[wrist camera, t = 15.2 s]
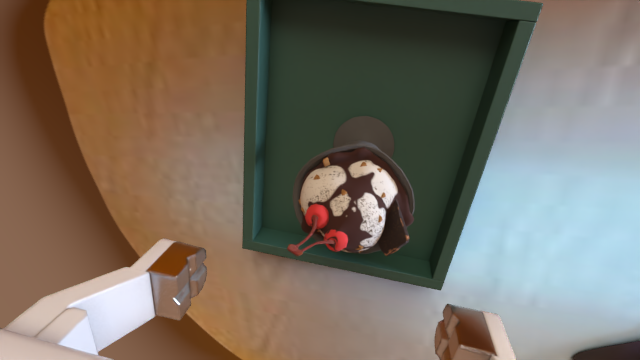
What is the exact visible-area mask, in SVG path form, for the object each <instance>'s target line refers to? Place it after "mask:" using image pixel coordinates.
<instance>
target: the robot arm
mask: <svg viewBox="0 0 640 360" xmlns="http://www.w3.org/2000/svg"><path fill="white" fill-rule="evenodd" d="M205 259H206V250H205V249H204V248H201V247H197V246H193V245H189V244H185V243H181V242H176V241H172V240H168V239H165V238H164V239H161V240H159V241H158V242H157V243H156V244H155V245H154V246H152V247H151V248H150V249H149V250H148V251H147V252H146V253H145V254H144V255H143V256H142V257H141V258H140V259H139V260H138V261H137V262H135V263H134V264H133V265H132V266H131V267H130V268H128V267H124V268H121V269H119V270H116V271H113V272H111V273H108V274H105V275H102V276H100V277H97V278H94V279H91V280H89V281H86V282H83V283H81V284H78V285H75V286H72V287H70V288H67V289H65V290H62V291H59V292H56V293H53V294H51V295H48V296H45V297H43V298H42V299H40V300H39V301H38V302H36V303H35V304H34V305H33V306H31V307H30V308H29V309H27V310H26V311H25V312H24V313H22V314H21V315H20V316H19V317H17V318H16V319H15V320H14V321H12V322H11V323H10V324H9V325H7V326H6V327H5V328H3V329H1V328H0V360H113V359H109V358H106V357H102V356H99V355H98V351H100V350H101V349H103V348H105V347H106V346H108V345H110V344H111V343H113V342H115V341H116V340H118V339H120V338H121V337H123V336H124V335H125V334H128V333H129V332H131V331H133V330H134V329H136V328H137V327H139V326H141V325H142V324H144V323H145V322H147V321H149V320H150V319H152V318H154V317H155V315H157V316H162V317H166V318H171V319H175V320H181V318H182V317H183V316H184V314H185V313H186V311H187V310H188V308H189V307H190V306H191V298H193V297H195V296H197V295H198V294H199V293H200V291H201V290H202V288H203V286H204V283H205V281H206V276H207V267H206V266H205V265H204V263H203V261H204V260H205ZM443 317H444V319H443V320H442V321H440V322H439V323H438V325H437V328H436V332H435V352H436V354H437V356H438V357H439V358H440V360H517V359H516V357H515V354H514V352H513V349H512V346H511V344H510V341H509V339H508V336H507V334H506V331H505V328H504V326H503V323H502V321H501V318H500V316H499V315H498V314H494V313H489V312H485V311H479V310H474V309H470V308H465V307H461V306H456V305H452V304H447V305H446V306H445V308H444V310H443Z"/></svg>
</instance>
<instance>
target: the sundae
mask: <svg viewBox="0 0 640 360" xmlns="http://www.w3.org/2000/svg"><path fill="white" fill-rule="evenodd" d="M333 147H334V148H331V149H329V150H327V151H325V152H322V153H320V154H319V155H317V156H315V157H313V158H312V159H310V160H309V161H308V162H307V163H306V164H305V165H304V166H303V167H302V169H301V170H300V171H299V172H298V174H297V177H296V179H295V183H294V187H293V206H294V210H295V214H296V217H297V219H298V221H299V223H300V225H301V228H302V230H303V231H304V232H305V233H307V234H308V236H307V237H306V238H305V239H304V240H303V241H301V242H300V243H298V244H297V245H294V244H289V245H288V247H287V250H288V251H290V252H291V253H293V254H294V255H296V256H300V255H302V254H303V252H304V251H305V250H307V249H309V248H311V247H312V246H314V245H317V244H324V245H326V246H327V247H328V249H330V250H332V251H335V252H339V251H340V250H341V251H344V252H350V253H358V254H369V253H372V252H376V251H380V250H381V251H382V252H383V253H384V254H385V255H386V256H388V255H390V254H392V253H394V252H396V251H397V250H399V249H400V248H401V247H402V246H404V245H406V244H407V243H408V242H409V235H408V231H407V226H409V225H411V224H412V223H413V221H414V217H413V212H414V209H415V200H414V193H413V189H412V187H411V185H410V183H409V180H408V179H407V177H406V175H405V174H404V172H403V170H402V169H401V168H400V167H399V166H398V165H397V164H396V163H395V162H394V161H393V160H392V159H391V157H392V155H393V152H394V138H393V135H392V133H391V131H390V129H389V128H388V127H387V126H386V125H385V124H384V123H383V122H382V121H380V120H379V119H376V118H373V117H369V116H358V117H354V118H351V119H349V120H347V121H346V122H344V123H343V124H342V125H341V126H340V127H339V129H338V130H337V132H336V134H335V137H334V142H333ZM310 237H312V238H314V239H315V240H317V241H318V242H315V243H313V244H311V245H309V246H307V247H306V248H304V249H302V250H299V249H298V247H299V246H300V245H302V244H303V243H304V242H306V241H307V240H308V239H309V238H310Z"/></svg>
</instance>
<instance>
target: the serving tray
mask: <svg viewBox="0 0 640 360" xmlns="http://www.w3.org/2000/svg"><path fill="white" fill-rule="evenodd" d="M542 6H543V3H537V2H528V1H519V0H247V8H246V70H245V132H244V195H243V247H242V248H244V249H249V250H253V251H258V252H263V253H267V254H272V255H277V256H282V257H286V258H291V259H296V260H300V261H305V262H310V263H314V264H319V265H324V266H329V267H333V268H338V269H343V270H347V271H352V272H357V273H361V274H366V275H371V276H376V277H380V278H385V279H390V280H394V281H399V282H404V283H408V284H413V285H418V286H422V287H427V288H432V289H437V290H441V289H442V286H443V283H444V280H445V277H446V274H447V272H448V269H449V266H450V263H451V260H452V258H453V255H454V252H455V249H456V246H457V244H458V241H459V238H460V235H461V232H462V230H463V227H464V224H465V221H466V218H467V216H468V213H469V210H470V207H471V204H472V202H473V199H474V196H475V193H476V190H477V188H478V185H479V182H480V179H481V176H482V174H483V171H484V168H485V165H486V162H487V160H488V157H489V154H490V151H491V148H492V146H493V143H494V140H495V137H496V134H497V132H498V129H499V126H500V123H501V120H502V118H503V115H504V112H505V109H506V106H507V104H508V101H509V98H510V95H511V92H512V90H513V87H514V84H515V81H516V78H517V76H518V73H519V70H520V67H521V64H522V62H523V59H524V56H525V53H526V50H527V48H528V45H529V42H530V39H531V36H532V34H533V31H534V28H535V25H536V22H537V20H538V17H539V14H540V12H541V9H542ZM358 116H369V117H373V118H376V119H379V120H380V121H382V122H383V123H384V124H385V125H386V126H387V127H388V128H389V129H390V131H391V133H392V135H393V138H394V152H393V155H392V157H391V159H392V160H393V161H394V162H395V163H396V164H397V165H398V166H399V167H400V168H401V169H402V170H403V172H404V174H405V175H406V177H407V179H408V180H409V183H410V185H411V187H412V189H413V193H414V200H415V209H414V212H413V217H414V221H413V223H412V224H411V225H409V226H407V231H408V235H409V242H408V243H407V244H406V245H404V246H402V247H401V248H400V249H399V250H397V251H396V252H394V253H392V254H390V255H388V256H386V255H385V254H384V253H383V252H382V251H381V250H380V251H376V252H372V253H369V254H358V253H350V252H344V251H341V250H340V251H339V252H335V251H332V250H330V249H328V247H327V246H326V245H324V244H317V245H314V246H312V247H311V248H309V249H307V250H305V251H304V252H303V254H302V255H300V256H296V255H294V254H293V253H291V252H290V251H288V250H287V247H288V245H289V244H294V245H297V244H298V243H300V242H301V241H303V240H304V239H305V238H306V237H307V236H308V234H307V233H305V232H304V231H303V230H302V228H301V225H300V223H299V221H298V219H297V217H296V214H295V210H294V206H293V187H294V183H295V179H296V177H297V174H298V172H299V171H300V170H301V169H302V167H303V166H304V165H305V164H306V163H307V162H308V161H309V160H310V159H312V158H313V157H315V156H317V155H319V154H320V153H322V152H325V151H327V150H329V149H331V148H334V147H333V142H334V137H335V134H336V132H337V130H338V129H339V127H340V126H341V125H342V124H343V123H344V122H346V121H347V120H349V119H351V118H354V117H358ZM315 242H318V241H317V240H315V239H314V238H312V237H310V238H309V239H308V240H307V241H306V242H304V243H303V244H302V245H300V246H299V247H298V249H299V250H302V249H304V248H306V247H307V246H309V245H311V244H313V243H315Z"/></svg>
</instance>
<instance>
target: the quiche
mask: <svg viewBox="0 0 640 360" xmlns="http://www.w3.org/2000/svg"><path fill="white" fill-rule="evenodd" d="M574 360H640V341H637V342H631V343H625V344H619V345H613V346H607V347H602V348H597V349H592V350H588V351H584V352H581V353H578V354H576V355H575V356H574Z"/></svg>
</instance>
